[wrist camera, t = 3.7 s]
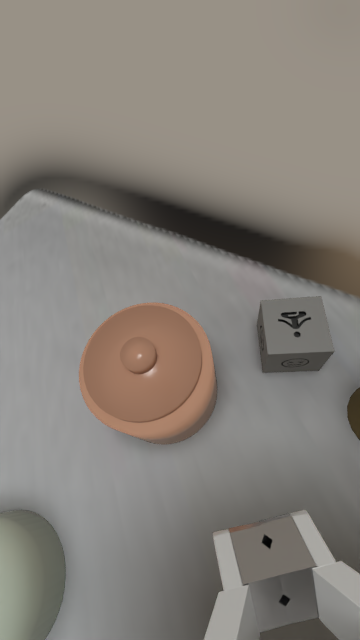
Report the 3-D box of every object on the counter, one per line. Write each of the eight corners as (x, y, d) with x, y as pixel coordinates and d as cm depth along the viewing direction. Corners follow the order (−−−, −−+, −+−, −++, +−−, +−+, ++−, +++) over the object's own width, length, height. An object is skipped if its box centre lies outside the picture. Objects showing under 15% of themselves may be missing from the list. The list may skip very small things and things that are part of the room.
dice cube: (308, 322, 30) (321, 296, 25) (318, 370, 28) (334, 351, 23) (256, 325, 31) (260, 300, 26) (262, 373, 28) (267, 354, 24)
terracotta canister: (227, 351, 30) (224, 302, 21) (203, 458, 26) (188, 450, 17) (135, 333, 32) (99, 282, 24) (100, 427, 28) (42, 407, 20)
